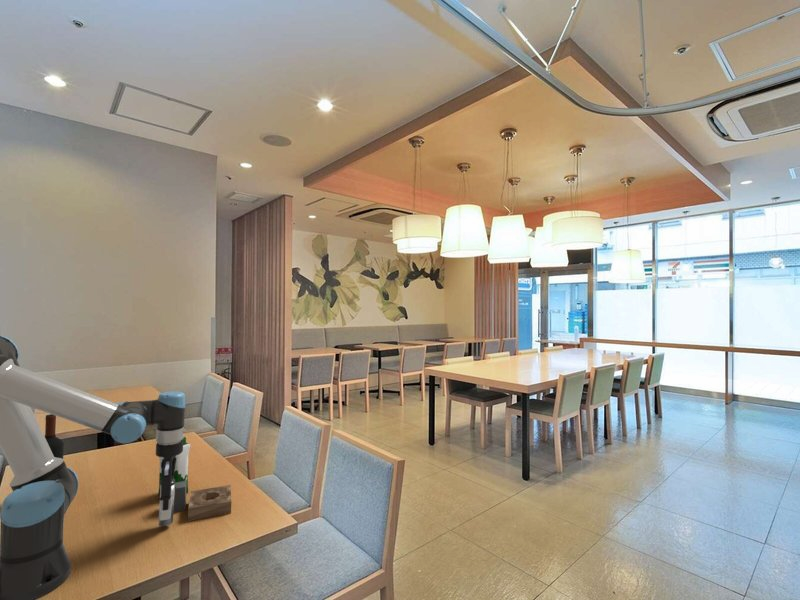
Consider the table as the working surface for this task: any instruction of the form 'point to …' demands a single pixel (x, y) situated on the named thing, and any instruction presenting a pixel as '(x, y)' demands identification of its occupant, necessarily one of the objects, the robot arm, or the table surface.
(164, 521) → the rod
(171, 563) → the table surface
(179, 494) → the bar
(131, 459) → the table surface
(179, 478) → the milk carton
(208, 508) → the socket block
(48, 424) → the wine bottle
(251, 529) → the table surface
